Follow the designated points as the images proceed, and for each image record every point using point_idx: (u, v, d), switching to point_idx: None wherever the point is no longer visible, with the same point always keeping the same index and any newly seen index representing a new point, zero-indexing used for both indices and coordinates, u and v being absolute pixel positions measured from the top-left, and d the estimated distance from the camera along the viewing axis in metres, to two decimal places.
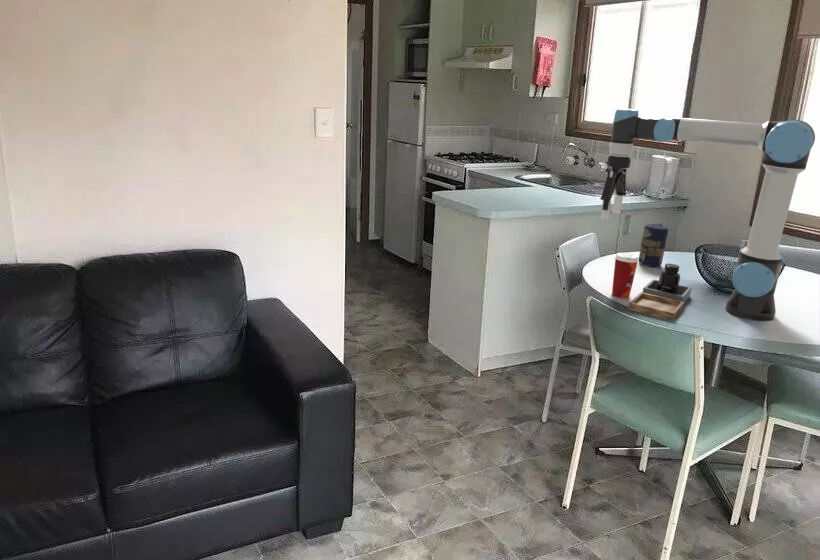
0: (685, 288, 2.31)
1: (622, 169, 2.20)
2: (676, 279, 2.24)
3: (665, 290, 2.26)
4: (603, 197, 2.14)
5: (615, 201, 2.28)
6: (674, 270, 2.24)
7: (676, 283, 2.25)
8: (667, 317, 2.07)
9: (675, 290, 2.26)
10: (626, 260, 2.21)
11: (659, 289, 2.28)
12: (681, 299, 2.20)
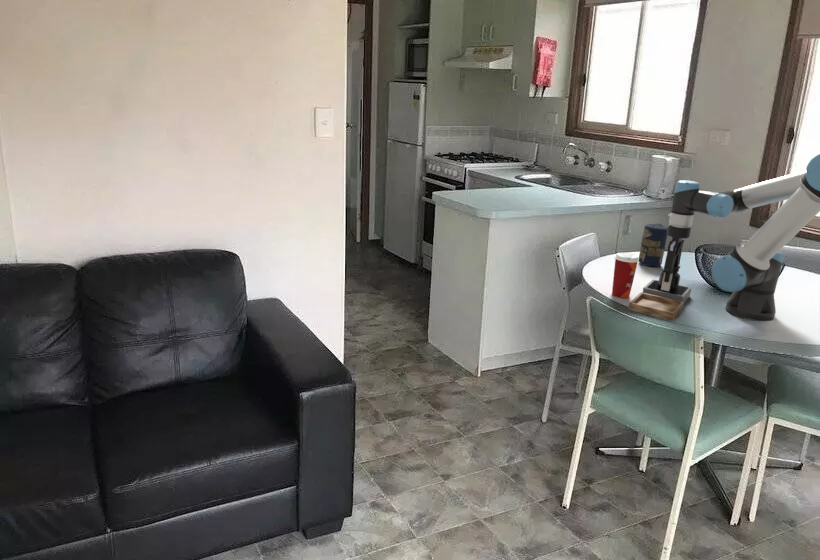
0: (685, 288, 2.31)
1: None
2: (675, 279, 2.24)
3: (664, 290, 2.26)
4: (665, 271, 2.21)
5: None
6: (674, 270, 2.24)
7: (676, 283, 2.25)
8: (667, 317, 2.07)
9: (675, 290, 2.26)
10: (626, 260, 2.21)
11: (659, 289, 2.28)
12: (681, 299, 2.20)
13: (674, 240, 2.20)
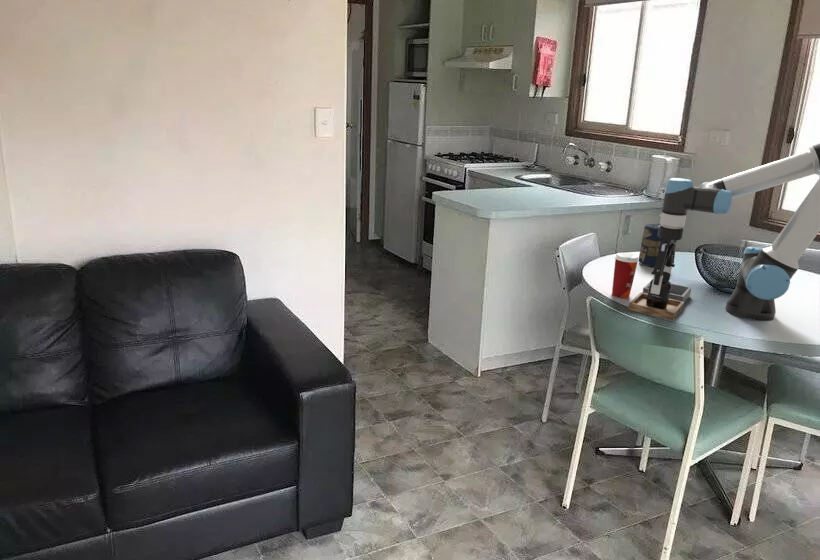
0: (685, 288, 2.31)
1: (673, 239, 2.10)
2: (666, 287, 2.10)
3: (655, 299, 2.12)
4: (655, 272, 2.04)
5: None
6: (664, 278, 2.10)
7: (667, 292, 2.11)
8: (667, 317, 2.07)
9: (666, 299, 2.12)
10: (626, 260, 2.21)
11: (649, 298, 2.14)
12: (681, 299, 2.20)
13: (666, 241, 2.06)
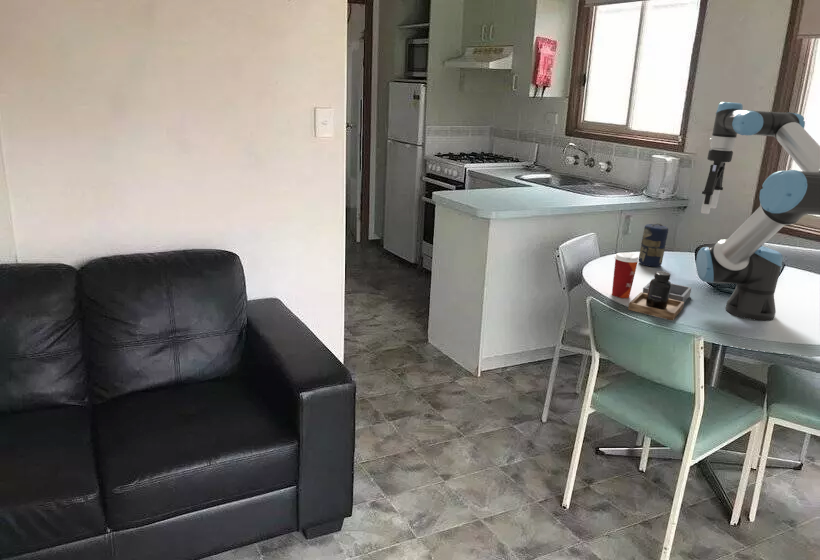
0: (685, 288, 2.31)
1: (722, 163, 2.18)
2: (666, 287, 2.10)
3: (655, 299, 2.12)
4: (706, 191, 2.12)
5: None
6: (664, 278, 2.10)
7: (667, 292, 2.11)
8: (667, 317, 2.07)
9: (666, 299, 2.12)
10: (626, 260, 2.21)
11: (649, 298, 2.14)
12: (681, 299, 2.20)
13: None
